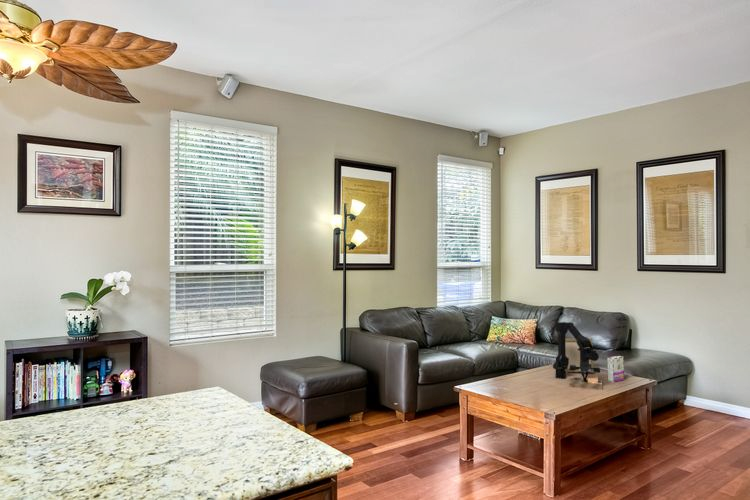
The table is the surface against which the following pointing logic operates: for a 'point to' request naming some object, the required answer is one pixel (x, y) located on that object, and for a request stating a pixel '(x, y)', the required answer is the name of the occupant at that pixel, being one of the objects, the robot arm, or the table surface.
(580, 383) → the chute
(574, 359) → the photo frame
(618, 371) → the candy bar box
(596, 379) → the block
